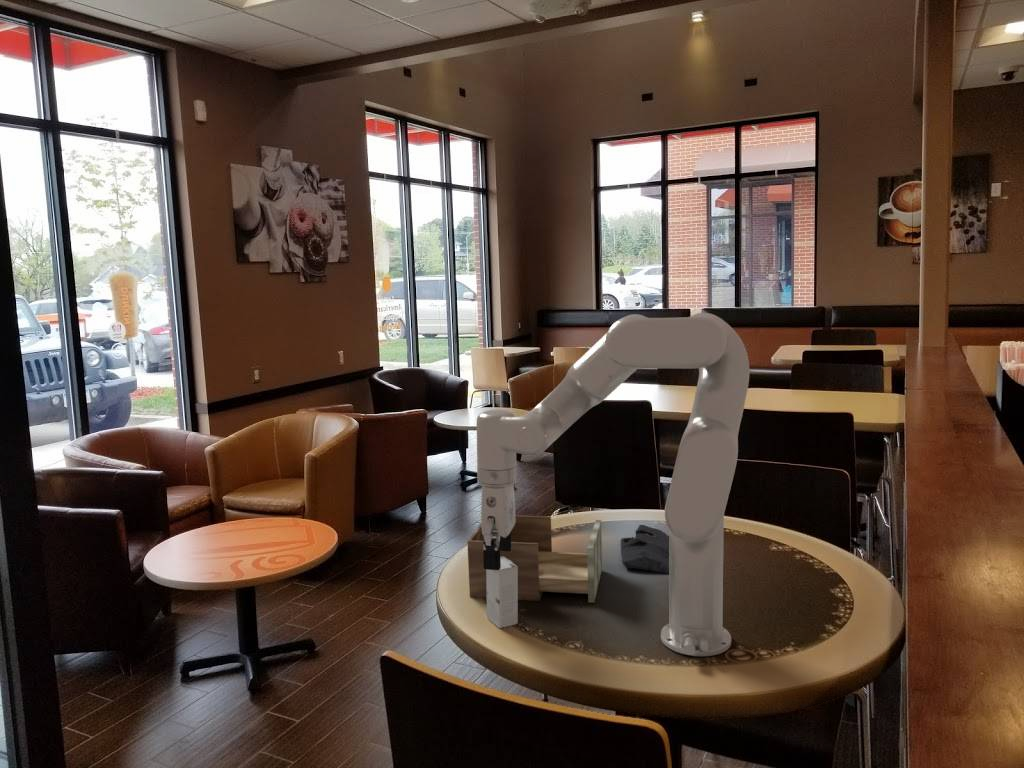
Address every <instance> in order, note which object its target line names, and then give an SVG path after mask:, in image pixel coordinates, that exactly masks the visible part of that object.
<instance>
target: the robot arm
mask: <svg viewBox="0 0 1024 768" xmlns="http://www.w3.org/2000/svg"><path fill="white" fill-rule="evenodd" d="M749 362H750V361H749V357H748V351H747V350H746V347H745V344H744V343H743V341H742V338H741V337H740V335H739V334H738V333H737V331H736V330H735V329H734V328H732V326H731V325H729V323H728V322H726V321H725V320H724V319H722V318H721V317H719V316H717V315H715V314H713V313H709V312H699V313H694V314H692V315H690V316H688V317H687V316H685V317H678V316H677V317H647V316H644V315H643V314H638V313H637V314H636V313H634V314H633V313H632V314H629V315H626V316H624V317H623V316H622V317H620V318H619V319H618V320H615V322H613V324H611V326H610V327H609V328H608V331H607V332H606V333H605V334H604V335H602V337H601V338H600V339H599V340H598V341H597V342H596V343H594V344H593V346H591V347H590V348H588V350H587V351H586V352H585V353H584V354H583V355H582V356H580V357H579V358H578V359H577V360H576V361H575V362H574V363H573V364H572V365H571V366H570V368H569V369H568V371H567V372H566V375H565V376H564V377H563V379H562V380H561V382H560V383H559V384H558V385H557V386H556V387H555V388H554V389H553V390H552V391H551V392H550V393H549V394H547V396H546V397H544V398H543V400H541V401H540V402H539V403H538V404H537V405H536V406H535V407H534V408H532V409H530V410H529V411H528V412H526V413H525V414H522V415H520V416H519V415H518V416H515V414H514V413H513V412H511V411H508V410H504V409H494V410H492V409H491V410H485V411H482V412H480V413H479V414H478V415H477V418H476V457H477V458H476V467H477V468H476V469H477V470H476V471H477V472H476V473H477V475H476V476H477V484H478V485H479V486H481V504H480V505H481V508H480V509H481V512H480V515H481V516H480V518H481V519H480V524H481V527H482V534H483V536H484V541H483V544H484V545H483V562H484V569H487V570H500V568H501V557H500V551H511V530H512V529H513V527H514V525H515V522H516V500H515V499H516V498H515V486H514V485H516V484H517V454H521V455H524V456H536V455H540V454H542V453H544V452H545V451H546V450H547V449H548V448H549V447H550V446H551V445H552V444H553V443H554V442H555V441H557V440H558V439H559V438H560V437H561V436H562V435H563V434H564V433H565V432H566V431H567V430H568V429H569V428H570V427H572V425H573V424H574V423H575V422H577V421H578V420H579V419H580V418H581V417H582V416H583V415H585V414H586V413H587V412H588V411H589V410H590V409H592V408H593V407H595V406H597V405H599V404H601V403H602V402H603V401H604V400H605V399H607V398H608V397H609V396H610V395H611V394H612V393H613V392H615V390H616V389H618V387H619V386H621V385H622V384H623V382H625V381H626V380H627V379H628V378H629V377H630V376H631V375H632V374H634V373H635V372H637V370H638V369H691V370H692V369H698V374H699V375H698V379H697V385H696V389H695V392H694V393H695V394H694V400H693V405H692V408H691V412H690V416H689V420H688V422H687V426H686V427H685V430H684V432H683V435H682V436H681V440H680V443H679V446H678V451H677V454H676V459H675V464H674V467H673V473H672V476H671V482H670V485H669V489H668V495H667V498H666V501H665V506H664V519H665V523H666V525H667V527H668V530H669V531H668V532H669V533H668V534H669V535H668V536H669V574H668V589H669V590H668V596H669V598H668V603H669V604H668V607H669V609H668V611H669V612H668V621H669V623H667V624H666V625H664V626H663V627H662V629H661V630H660V640H661V642H662V643H663V644H664V646H666V647H667V648H668V649H670V650H672V651H673V652H675V653H679V654H681V655H685V656H686V655H687V656H691V657H712V656H718V655H720V654H723V653H724V652H726V651H728V650H729V648H730V647H731V645H732V636H731V633H730V632H729V631H728V630H727V629H726V628H725V627H723V621H724V620H723V618H724V617H723V616H724V614H723V613H724V612H723V609H724V607H723V603H724V596H723V595H724V589H723V588H724V531H725V530H724V529H725V527H724V525H725V523H724V522H725V521H724V520H725V511H726V507H727V504H728V499H729V495H730V492H731V489H732V488H731V487H732V483H733V480H734V476H735V472H736V467H737V462H738V456H739V455H738V454H739V438H738V437H739V432H740V427H741V426H740V425H741V422H742V418H743V413H744V408H745V404H746V399H747V394H748V389H749V383H750V363H749ZM492 532H495V533H492ZM492 538H495V541H494V540H493V539H492Z"/></svg>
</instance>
